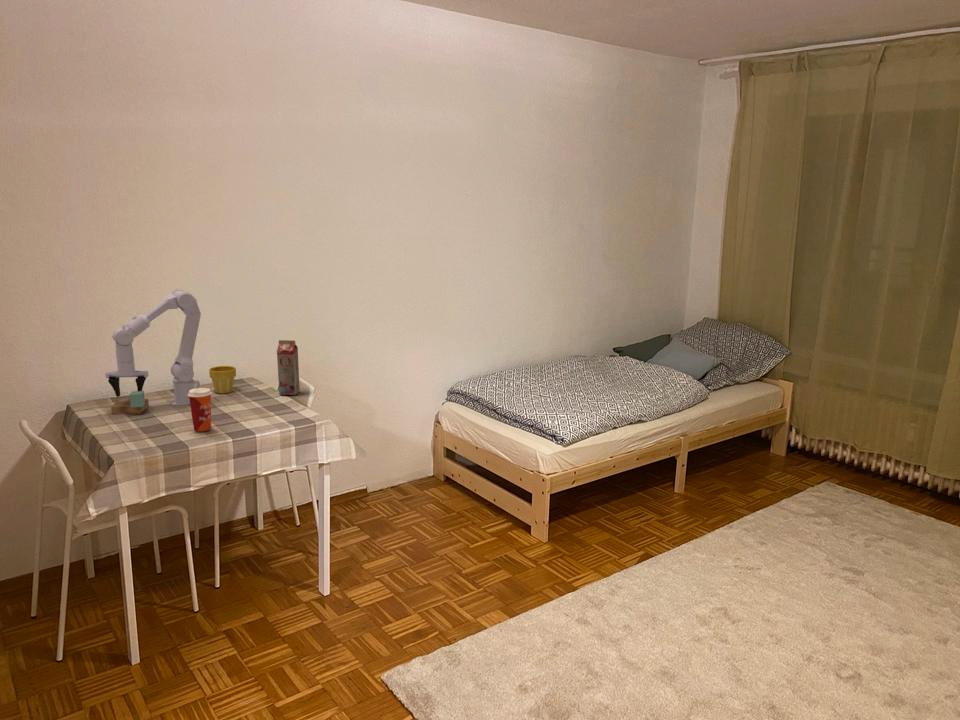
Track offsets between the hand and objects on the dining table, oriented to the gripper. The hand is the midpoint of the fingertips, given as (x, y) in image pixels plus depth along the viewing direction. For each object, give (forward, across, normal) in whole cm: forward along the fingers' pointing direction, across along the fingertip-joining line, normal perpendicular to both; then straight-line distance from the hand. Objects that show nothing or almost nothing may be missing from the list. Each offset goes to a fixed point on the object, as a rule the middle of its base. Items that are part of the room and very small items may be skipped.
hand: (129, 395), depth 272 cm
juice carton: (+6, -56, -19) cm, 60 cm away
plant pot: (+6, -29, -24) cm, 38 cm away
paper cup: (+6, -32, +25) cm, 41 cm away
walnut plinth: (+6, 0, 0) cm, 6 cm away
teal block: (+3, -4, +4) cm, 7 cm away
